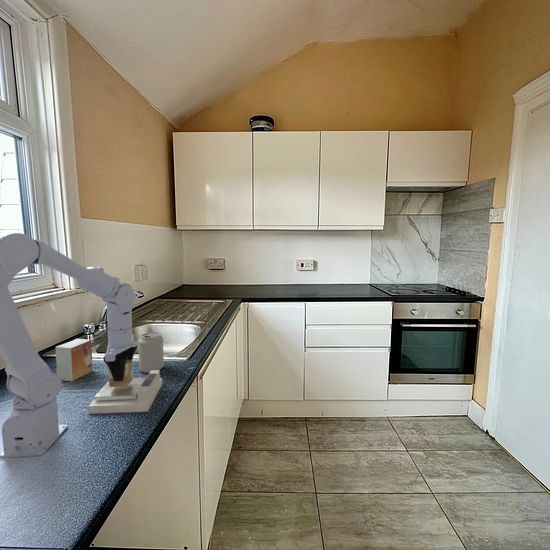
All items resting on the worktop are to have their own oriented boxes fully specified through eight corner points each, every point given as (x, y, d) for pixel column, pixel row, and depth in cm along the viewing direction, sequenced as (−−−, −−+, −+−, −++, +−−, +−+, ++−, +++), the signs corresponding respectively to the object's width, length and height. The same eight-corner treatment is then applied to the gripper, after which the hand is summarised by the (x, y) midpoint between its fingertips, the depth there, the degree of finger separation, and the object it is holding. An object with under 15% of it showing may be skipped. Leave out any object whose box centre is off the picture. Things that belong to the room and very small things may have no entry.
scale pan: (135, 399, 78) (135, 395, 78) (94, 400, 77) (94, 396, 76) (147, 380, 88) (147, 377, 88) (111, 381, 86) (110, 378, 86)
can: (136, 368, 101) (135, 333, 99) (159, 362, 106) (158, 329, 104) (143, 376, 95) (142, 339, 94) (167, 370, 100) (166, 335, 99)
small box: (72, 382, 91) (70, 348, 89) (56, 380, 92) (54, 346, 90) (93, 370, 98) (91, 339, 97) (78, 369, 99) (77, 338, 98)
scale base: (147, 411, 76) (147, 391, 76) (88, 413, 75) (87, 393, 74) (162, 384, 90) (161, 367, 90) (112, 386, 89) (111, 368, 88)
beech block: (127, 386, 80) (126, 366, 79) (109, 387, 79) (108, 367, 79) (133, 378, 84) (132, 359, 84) (116, 379, 84) (115, 360, 83)
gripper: (125, 336, 73) (127, 389, 75) (144, 319, 88) (145, 364, 89) (94, 336, 72) (97, 390, 74) (118, 320, 87) (120, 365, 88)
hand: (122, 376), depth 82 cm, fingers closed on beech block, 4 cm apart
